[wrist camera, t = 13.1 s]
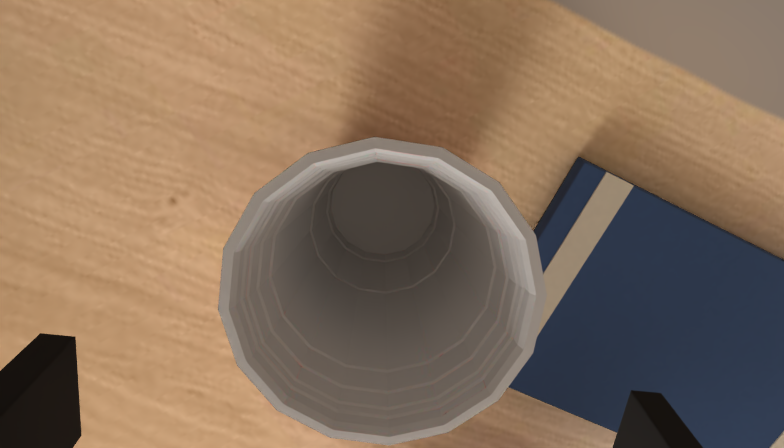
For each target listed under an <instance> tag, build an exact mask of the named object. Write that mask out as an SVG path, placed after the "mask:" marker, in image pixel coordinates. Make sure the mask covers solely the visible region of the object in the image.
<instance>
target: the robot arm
mask: <svg viewBox="0 0 784 448" xmlns="http://www.w3.org/2000/svg"><path fill="white" fill-rule="evenodd" d="M80 437H81V422H80V405H79V389H78V373H77V356H76V340H75V337H72V336H62V335H51V334H41V333H40V334H39V335H38V336H37V337H36V338H35V339H34V340H33V341H32V342H31V343H30V344H29V345H28V346H27V347H25V348H24V349H23V350H22V351H21V352H20V353H19V354H18V355H17V356H16V357H15V358H14V359H13V360H12V361H10V362H9V363H8V364H7V365H6V366H5V367H4V368H3V369H2V370H1V371H0V448H73V447H74V445H75V444H76V442H77V441H78V440H79V438H80ZM613 448H703V447H702V446H701V444H700V443H699V442H698V440H697V439H696V438H695V436H694V435H693V434H692V433H691V431H690V430H689V429H688V427H687V426H686V425H685V423H684V422H683V421H682V420H681V418H680V417H679V416H678V414H677V413H676V412H675V410H674V409H673V408H672V406H671V405H670V404H669V403H668V401H667V400H666V399H665V397H664V396H663V395H662V393H656V392H645V391H635V390H631V392H630V395H629V398H628V401H627V404H626V407H625V411H624V414H623V417H622V420H621V423H620V426H619V429H618V432H617V436H616V439H615V442H614V445H613Z"/></svg>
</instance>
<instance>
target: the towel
mask: <svg viewBox="0 0 784 448" xmlns="http://www.w3.org/2000/svg"><path fill="white" fill-rule="evenodd" d="M533 232H534V233H535V235H536V239H537V244H538V250H539V255H540V260H541V266H542V271H543V277H544V282H545V288H546V293H547V297H546V301H545V305H544V309H543V314H542V318H541V322H540V326H539V330H538V335H537V339H536V343H535V347H534V351H533V354H532V355H531V357H530V358H529V359H528V361H527V362H526V363H525V365H524V366H523V367H522V369H521V370H520V372H519V373H518V374H517V376H516V377H515V378H514V380H513V381H512V382H511V384H510V385H509V388H512V389H514V390H517V391H519V392H521V393H524V394H526V395H529V396H531V397H533V398H536V399H538V400H540V401H543V402H545V403H548V404H550V405H552V406H555V407H557V408H560V409H562V410H564V411H567V412H569V413H571V414H574V415H576V416H579V417H581V418H583V419H586V420H588V421H591V422H593V423H595V424H598V425H600V426H602V427H605V428H607V429H610V430H612V431H614V432H618V429H619V426H620V423H621V420H622V417H623V414H624V411H625V407H626V404H627V401H628V398H629V395H630V392H631V390H635V391H645V392H656V393H662V395H663V396H664V397H665V399H666V400H667V401H668V403H669V404H670V405H671V406H672V408H673V409H674V410H675V412H676V413H677V414H678V416H679V417H680V418H681V420H682V421H683V422H684V423H685V425H686V426H687V427H688V429H689V430H690V431H691V433H692V434H693V435H694V436H695V438H696V439H697V440H698V442H699V443H700V444H701V446H702V447H703V448H784V260H783V259H781V258H779V257H777V256H775V255H773V254H771V253H769V252H767V251H765V250H763V249H761V248H759V247H757V246H755V245H753V244H751V243H749V242H747V241H745V240H743V239H742V238H740V237H738V236H736V235H734V234H732V233H730V232H728V231H726V230H724V229H722V228H720V227H718V226H716V225H714V224H712V223H710V222H708V221H706V220H704V219H702V218H700V217H698V216H696V215H694V214H692V213H690V212H688V211H686V210H684V209H682V208H680V207H678V206H676V205H674V204H672V203H670V202H668V201H666V200H664V199H662V198H660V197H658V196H656V195H654V194H652V193H650V192H648V191H646V190H644V189H642V188H640V187H638V186H636V185H634V184H632V183H630V182H628V181H626V180H624V179H622V178H620V177H618V176H616V175H614V174H612V173H610V172H608V171H606V170H604V169H602V168H600V167H598V166H597V165H595V164H593V163H591V162H589V161H587V160H585V159H583V158H581V157H578V158H577V160H576V161H575V163H574V165H573V166H572V168H571V170H570V171H569V173H568V175H567V176H566V178H565V180H564V181H563V183H562V185H561V186H560V188H559V190H558V191H557V193H556V195H555V196H554V198H553V200H552V201H551V203H550V205H549V206H548V208H547V210H546V211H545V213H544V215H543V216H542V218H541V220H540V221H539V223H538V225H537V226H536V228H535V230H534V231H533Z"/></svg>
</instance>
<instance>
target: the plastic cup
mask: <svg viewBox="0 0 784 448" xmlns="http://www.w3.org/2000/svg"><path fill="white" fill-rule="evenodd" d="M546 297H547V293H546V288H545V282H544V277H543V271H542V266H541V260H540V255H539V250H538V244H537V239H536V235H535V233H534V232H533V230H532V229H531V227H530V226H529V225H528V223H527V222H526V220H525V219H524V217H523V216H522V214H521V213H520V211H519V210H518V209H517V207H516V206H515V204H514V203H513V201H512V200H511V198H510V197H509V196H508V194H507V193H506V191H505V190H504V188H503V187H502V185H501V184H500V183H499V182H498V181H496V180H495V179H493V178H491V177H490V176H488V175H486V174H485V173H483V172H482V171H480V170H478V169H477V168H475V167H474V166H472V165H470V164H469V163H467V162H466V161H464V160H462V159H461V158H459V157H457V156H456V155H454V154H453V153H451V152H449V151H448V150H446V149H445V148H443V147H437V146H431V145H424V144H418V143H411V142H405V141H399V140H392V139H386V138H380V137H372V138H367V139H363V140H359V141H355V142H351V143H347V144H343V145H339V146H335V147H331V148H327V149H323V150H318V151H314V152H310V153H307V154H306V155H305V156H303V157H302V158H301V159H299V160H298V161H297V162H295V163H294V164H293V165H291V166H290V167H289V168H287V169H286V170H285V171H283V172H282V173H281V174H279V175H278V176H277V177H275V178H274V179H273V180H271V181H270V182H269V183H267V184H266V185H265V186H263V187H262V188H261V189H259V190H258V191H257V192H255V193H254V195H253V197H252V198H251V200H250V202H249V204H248V206H247V207H246V209H245V211H244V213H243V214H242V216H241V218H240V220H239V222H238V223H237V225H236V227H235V229H234V230H233V232H232V234H231V236H230V238H229V239H228V241H227V243H226V245H225V246H224V248H223V259H222V270H221V282H220V293H219V305H218V310H219V313H220V316H221V319H222V322H223V325H224V328H225V331H226V334H227V337H228V340H229V343H230V345H231V348H232V351H233V354H234V357H235V360H236V363H237V366H238V367H239V368H240V369H241V370H242V371H243V373H244V374H245V375H246V376H247V377H248V378H249V379H250V380H251V382H252V383H253V384H254V385H255V386H256V387H257V388H258V390H259V391H260V392H261V393H262V394H263V395H264V396H265V397H266V399H267V400H268V401H269V402H270V403H271V404H272V405H273V406H274V408H275V409H276V410H277V411H279V412H281V413H283V414H285V415H287V416H289V417H291V418H293V419H295V420H297V421H299V422H301V423H302V424H304V425H306V426H308V427H310V428H312V429H314V430H316V431H318V432H320V433H322V434H324V435H326V436H328V437H330V438H336V439H344V440H351V441H359V442H367V443H375V444H382V445H394V444H398V443H403V442H407V441H412V440H416V439H421V438H426V437H430V436H435V435H439V434H444V433H448V432H450V431H451V430H453V429H454V428H456V427H458V426H459V425H461V424H462V423H464V422H465V421H467V420H469V419H470V418H472V417H473V416H475V415H476V414H478V413H480V412H481V411H483V410H484V409H486V408H487V407H489V406H491V405H492V404H494V403H495V402H497V401H498V400H499V399H500V397H501V396H502V395H503V393H504V392H505V391H506V389H507V388H508V387H509V385H510V384H511V382H512V381H513V380H514V378H515V377H516V376H517V374H518V373H519V372H520V370H521V369H522V367H523V366H524V365H525V363H526V362H527V361H528V359H529V358H530V357H531V355H532V354H533V351H534V347H535V343H536V339H537V335H538V330H539V326H540V322H541V318H542V314H543V309H544V305H545V301H546Z"/></svg>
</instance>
